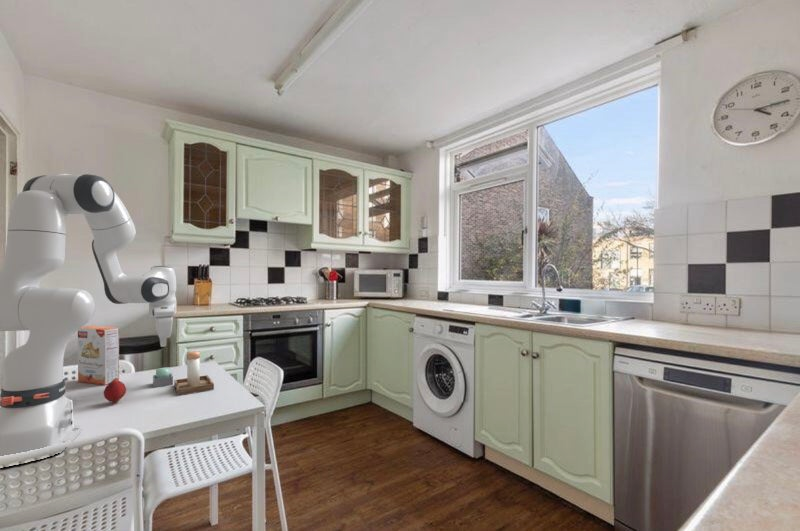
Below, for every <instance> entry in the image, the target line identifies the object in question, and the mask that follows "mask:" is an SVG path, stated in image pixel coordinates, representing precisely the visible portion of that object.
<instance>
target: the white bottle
mask: <svg viewBox="0 0 800 531" xmlns="http://www.w3.org/2000/svg"><path fill="white" fill-rule="evenodd" d="M200 360H201V352H200V350H194V351H193V350H192V351H191V350H190V351H188V352H186V369H187V372H186V374H187V376H186V377H187V386H188V387H195V386H199V385H200V376H201V371H200V370H201V368H200V366H201V361H200Z"/></svg>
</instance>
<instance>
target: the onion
mask: <svg viewBox="0 0 800 531" xmlns="http://www.w3.org/2000/svg"><path fill="white" fill-rule="evenodd" d="M105 386H106V387H105V388H104V390H103V397H104V398H105V400H107V401H108V402H111V403H114V404H116V403H118V402H119V401H120V400H121V399H123V398H124V396H125V395H126V393H127V387H126V384H124V383H123V382H122V381H121V380H119V381H118V378H114V379H113V381H112V382H110V383H109V384H107V385H105Z"/></svg>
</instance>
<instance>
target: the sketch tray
mask: <svg viewBox="0 0 800 531" xmlns="http://www.w3.org/2000/svg"><path fill="white" fill-rule="evenodd" d="M173 385H174V388H176V389H175V392H176V394H177V396H182V395H183V394H184V395H188V394H189V393H190V394H195V393H194V392H196V393H200V392H201V391H202V392H207V390H208V391H213V389H214V390H215V388H214V387H215V384H214V382H213V381H212V379H211V378H210V375H208V374H206V375H200V385H199V386H195V387H188V386H187V378H180V379H175V380H174V379H173Z"/></svg>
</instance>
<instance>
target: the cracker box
mask: <svg viewBox="0 0 800 531" xmlns="http://www.w3.org/2000/svg"><path fill="white" fill-rule="evenodd" d="M114 378H118V381H120V328H119V327H116V326H115V327H114V326H105V325H104V326H103V325H87V326H85V325H84V326H82V327H81V328H79V329H78V330H77V380H78V381H77V382H78V383H79V382H80V383H85V384H93V383H94V385H99V384H100V385H101V386H107V385H108V384H109V383H110V382H112V381H113V379H114ZM100 385H99V386H100Z"/></svg>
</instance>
